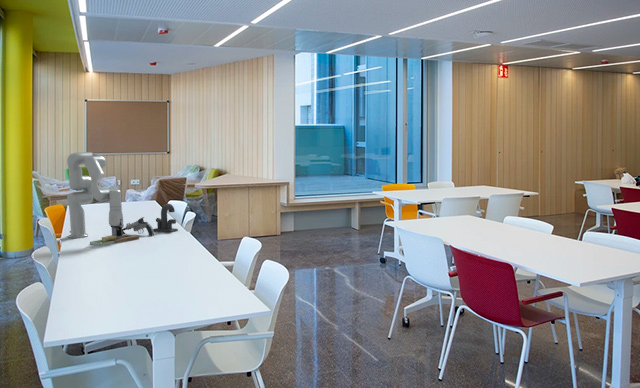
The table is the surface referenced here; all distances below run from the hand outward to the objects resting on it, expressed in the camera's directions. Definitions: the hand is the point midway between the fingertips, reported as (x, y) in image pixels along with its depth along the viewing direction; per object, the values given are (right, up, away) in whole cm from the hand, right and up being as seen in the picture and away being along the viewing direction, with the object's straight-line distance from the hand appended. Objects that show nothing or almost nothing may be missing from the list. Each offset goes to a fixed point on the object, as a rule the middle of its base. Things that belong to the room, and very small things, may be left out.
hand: (117, 235), depth 373 cm
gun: (+4, -2, +24) cm, 24 cm away
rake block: (0, -3, +1) cm, 3 cm away
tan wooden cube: (-5, -5, -6) cm, 9 cm away
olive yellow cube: (-2, -4, -3) cm, 6 cm away
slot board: (+2, -4, +3) cm, 5 cm away
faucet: (+23, 0, +42) cm, 48 cm away
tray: (-6, -5, -8) cm, 12 cm away
